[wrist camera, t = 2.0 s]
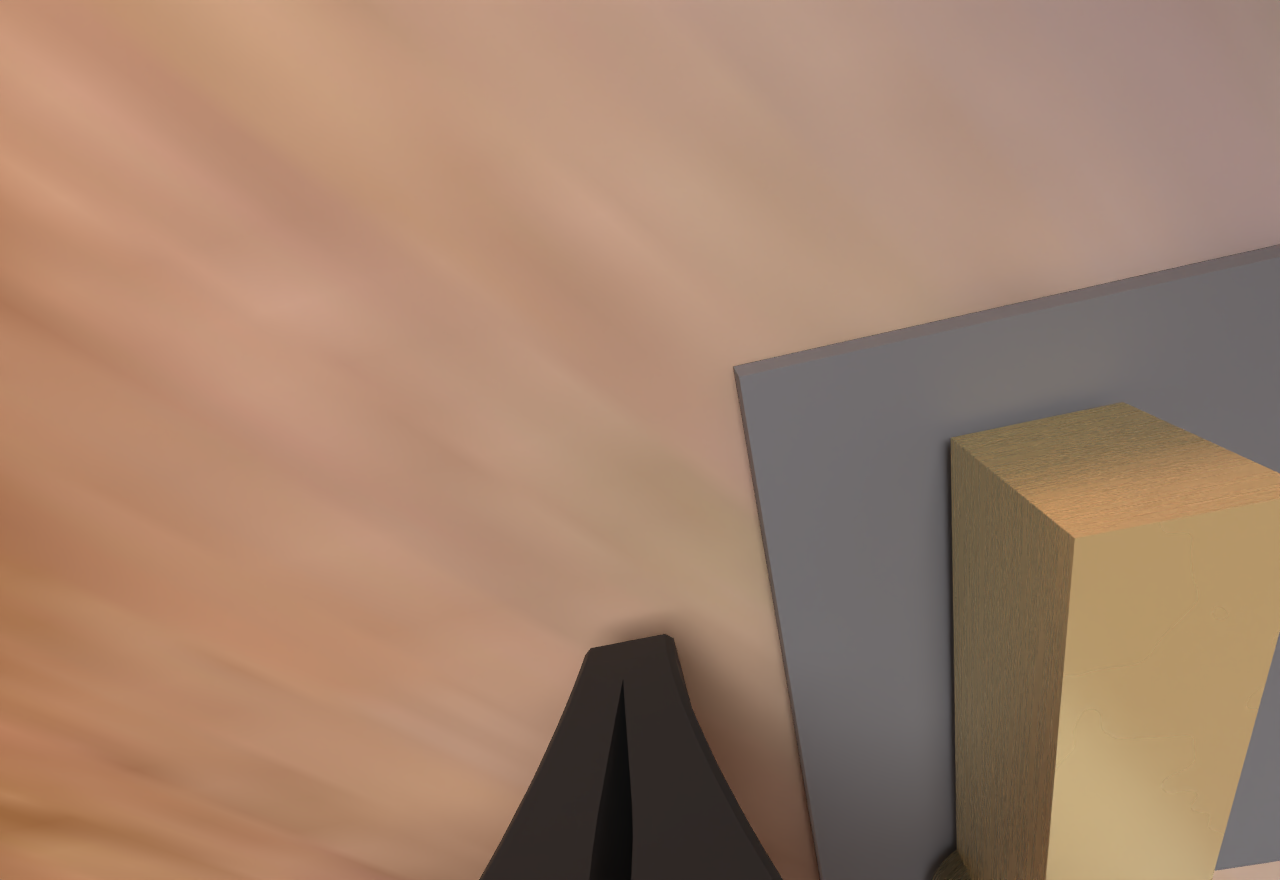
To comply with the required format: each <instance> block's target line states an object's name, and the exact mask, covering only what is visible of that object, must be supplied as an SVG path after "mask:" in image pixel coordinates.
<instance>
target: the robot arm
mask: <svg viewBox="0 0 1280 880" xmlns="http://www.w3.org/2000/svg"><path fill="white" fill-rule="evenodd" d="M479 880H783V879H782V878H781V876H780V875H779V873H778V871H777V870H776V868H775V866H774V865H773V863H772V861H771V860H770V858H769V856H768V855H767V853H766V852H765V850H764V848H763V847H762V845H761V843H760V841H759V840H758V838H757V836H756V835H755V833H754V831H753V829H752V828H751V826H750V824H749V822H748V821H747V819H746V817H745V815H744V813H743V812H742V810H741V808H740V806H739V804H738V802H737V801H736V799H735V797H734V795H733V793H732V791H731V789H730V787H729V786H728V784H727V782H726V780H725V778H724V776H723V774H722V772H721V770H720V768H719V766H718V764H717V762H716V760H715V758H714V756H713V754H712V752H711V750H710V747H709V745H708V743H707V741H706V739H705V736H704V734H703V732H702V730H701V728H700V726H699V723H698V721H697V719H696V717H695V714H694V712H693V709H692V707H691V703H690V699H689V695H688V692H687V688H686V684H685V680H684V676H683V673H682V669H681V665H680V661H679V658H678V654H677V650H676V646H675V642H674V639H673V638H672V637H670V636H668V635H666V634H663V635H657V636H652V637H647V638H642V639H637V640H631V641H626V642H621V643H616V644H611V645H605V646H600V647H595V648H591V649H590V650H589V651H588V652H587V654H586V655H585V658H584V661H583V663H582V666H581V669H580V672H579V674H578V677H577V679H576V682H575V685H574V687H573V690H572V692H571V695H570V697H569V700H568V702H567V704H566V707H565V709H564V712H563V714H562V716H561V719H560V721H559V723H558V726H557V728H556V730H555V732H554V735H553V737H552V739H551V741H550V743H549V745H548V748H547V750H546V752H545V754H544V756H543V759H542V761H541V763H540V765H539V767H538V769H537V772H536V774H535V776H534V778H533V780H532V782H531V784H530V786H529V788H528V790H527V792H526V794H525V796H524V798H523V800H522V802H521V803H520V805H519V807H518V809H517V811H516V813H515V815H514V817H513V819H512V821H511V823H510V825H509V827H508V829H507V830H506V832H505V834H504V836H503V838H502V840H501V842H500V844H499V846H498V847H497V849H496V851H495V853H494V855H493V856H492V858H491V860H490V862H489V863H488V865H487V867H486V869H485V871H484V872H483V874H482V876H481V877H480V879H479Z"/></svg>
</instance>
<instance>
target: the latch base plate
mask: <svg viewBox="0 0 1280 880" xmlns="http://www.w3.org/2000/svg"><path fill="white" fill-rule="evenodd" d="M733 368H734V374H735V379H736V385H737V391H738V397H739V403H740V409H741V415H742V421H743V427H744V433H745V438H746V444H747V450H748V456H749V462H750V468H751V474H752V480H753V486H754V491H755V497H756V503H757V509H758V515H759V521H760V527H761V533H762V539H763V544H764V550H765V556H766V562H767V568H768V574H769V580H770V586H771V592H772V597H773V603H774V609H775V615H776V621H777V627H778V633H779V639H780V645H781V650H782V656H783V662H784V668H785V674H786V680H787V686H788V692H789V698H790V703H791V709H792V715H793V721H794V727H795V733H796V739H797V745H798V751H799V756H800V762H801V768H802V774H803V780H804V786H805V792H806V798H807V804H808V809H809V815H810V821H811V827H812V833H813V839H814V845H815V851H816V857H817V862H818V868H819V874H820V880H931V879H932V877H933V875H934V873H935V871H936V870H937V868H938V867H939V865H940V864H941V863H942V862H943V861H944V860H945V859H946V858H947V857H948V856H949V855H950V854H951V853H953V852H954V851H955V850H957V831H956V764H955V696H954V629H953V561H952V494H951V438H952V437H957V436H961V435H966V434H971V433H976V432H981V431H985V430H990V429H995V428H1000V427H1005V426H1009V425H1014V424H1019V423H1024V422H1028V421H1033V420H1038V419H1043V418H1048V417H1052V416H1057V415H1062V414H1067V413H1071V412H1076V411H1081V410H1086V409H1091V408H1095V407H1100V406H1105V405H1110V404H1115V403H1119V402H1124V403H1126V404H1129V405H1131V406H1133V407H1135V408H1137V409H1140V410H1142V411H1144V412H1146V413H1148V414H1151V415H1153V416H1155V417H1157V418H1159V419H1162V420H1164V421H1166V422H1168V423H1170V424H1172V425H1175V426H1177V427H1179V428H1181V429H1183V430H1186V431H1188V432H1190V433H1192V434H1194V435H1197V436H1199V437H1201V438H1203V439H1205V440H1208V441H1210V442H1212V443H1214V444H1216V445H1219V446H1221V447H1223V448H1225V449H1227V450H1229V451H1232V452H1234V453H1236V454H1238V455H1240V456H1243V457H1245V458H1247V459H1249V460H1251V461H1254V462H1256V463H1258V464H1260V465H1262V466H1265V467H1267V468H1269V469H1271V470H1273V471H1275V472H1278V473H1280V245H1275V246H1271V247H1266V248H1262V249H1257V250H1253V251H1248V252H1244V253H1240V254H1235V255H1231V256H1226V257H1222V258H1217V259H1213V260H1208V261H1204V262H1199V263H1195V264H1190V265H1186V266H1181V267H1177V268H1172V269H1168V270H1163V271H1159V272H1154V273H1150V274H1145V275H1141V276H1137V277H1132V278H1128V279H1123V280H1119V281H1114V282H1110V283H1105V284H1101V285H1096V286H1092V287H1087V288H1083V289H1078V290H1074V291H1069V292H1065V293H1060V294H1056V295H1051V296H1047V297H1042V298H1038V299H1034V300H1029V301H1025V302H1020V303H1016V304H1011V305H1007V306H1002V307H998V308H993V309H989V310H984V311H980V312H975V313H971V314H966V315H962V316H957V317H953V318H948V319H944V320H939V321H935V322H930V323H926V324H922V325H917V326H913V327H908V328H904V329H899V330H895V331H890V332H886V333H881V334H877V335H872V336H868V337H863V338H859V339H854V340H850V341H845V342H841V343H836V344H832V345H827V346H823V347H819V348H814V349H810V350H805V351H801V352H796V353H792V354H787V355H783V356H778V357H774V358H769V359H765V360H760V361H756V362H751V363H747V364H742V365H738V366H733ZM1274 861H1280V632H1279V636H1278V640H1277V643H1276V647H1275V651H1274V654H1273V658H1272V662H1271V665H1270V669H1269V673H1268V676H1267V680H1266V684H1265V687H1264V691H1263V695H1262V698H1261V702H1260V705H1259V709H1258V713H1257V716H1256V720H1255V724H1254V727H1253V731H1252V735H1251V738H1250V742H1249V746H1248V749H1247V753H1246V757H1245V760H1244V764H1243V768H1242V771H1241V775H1240V779H1239V782H1238V786H1237V790H1236V793H1235V797H1234V801H1233V804H1232V808H1231V811H1230V815H1229V819H1228V822H1227V826H1226V830H1225V833H1224V837H1223V841H1222V844H1221V848H1220V852H1219V855H1218V859H1217V863H1216V866H1215V870H1214V871H1216V870H1222V869H1229V868H1235V867H1242V866H1248V865H1255V864H1261V863H1268V862H1274Z"/></svg>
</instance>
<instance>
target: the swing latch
mask: <svg viewBox="0 0 1280 880" xmlns="http://www.w3.org/2000/svg"><path fill="white" fill-rule="evenodd" d="M951 494H952V561H953V629H954V696H955V764H956V831H957V850H955V851H954V852H953V853H951V854H950V855H949V856H948V857H947V858H946V859H945V860H944V861H943V862H942V863H941V864H940V865H939V867H938V868H937V870H936V871H935V873H934V875H933V877H932V879H931V880H1212V877H1213V874H1214V870H1215V866H1216V863H1217V859H1218V855H1219V852H1220V848H1221V844H1222V841H1223V837H1224V833H1225V830H1226V826H1227V822H1228V819H1229V815H1230V811H1231V808H1232V804H1233V801H1234V797H1235V793H1236V790H1237V786H1238V782H1239V779H1240V775H1241V771H1242V768H1243V764H1244V760H1245V757H1246V753H1247V749H1248V746H1249V742H1250V738H1251V735H1252V731H1253V727H1254V724H1255V720H1256V716H1257V713H1258V709H1259V705H1260V702H1261V698H1262V695H1263V691H1264V687H1265V684H1266V680H1267V676H1268V673H1269V669H1270V665H1271V662H1272V658H1273V654H1274V651H1275V647H1276V643H1277V640H1278V636H1279V632H1280V473H1278V472H1275V471H1273V470H1271V469H1269V468H1267V467H1265V466H1262V465H1260V464H1258V463H1256V462H1254V461H1251V460H1249V459H1247V458H1245V457H1243V456H1240V455H1238V454H1236V453H1234V452H1232V451H1229V450H1227V449H1225V448H1223V447H1221V446H1219V445H1216V444H1214V443H1212V442H1210V441H1208V440H1205V439H1203V438H1201V437H1199V436H1197V435H1194V434H1192V433H1190V432H1188V431H1186V430H1183V429H1181V428H1179V427H1177V426H1175V425H1172V424H1170V423H1168V422H1166V421H1164V420H1162V419H1159V418H1157V417H1155V416H1153V415H1151V414H1148V413H1146V412H1144V411H1142V410H1140V409H1137V408H1135V407H1133V406H1131V405H1129V404H1126V403H1124V402H1119V403H1115V404H1110V405H1105V406H1100V407H1095V408H1091V409H1086V410H1081V411H1076V412H1071V413H1067V414H1062V415H1057V416H1052V417H1048V418H1043V419H1038V420H1033V421H1028V422H1024V423H1019V424H1014V425H1009V426H1005V427H1000V428H995V429H990V430H985V431H981V432H976V433H971V434H966V435H961V436H957V437H952V438H951Z"/></svg>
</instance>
